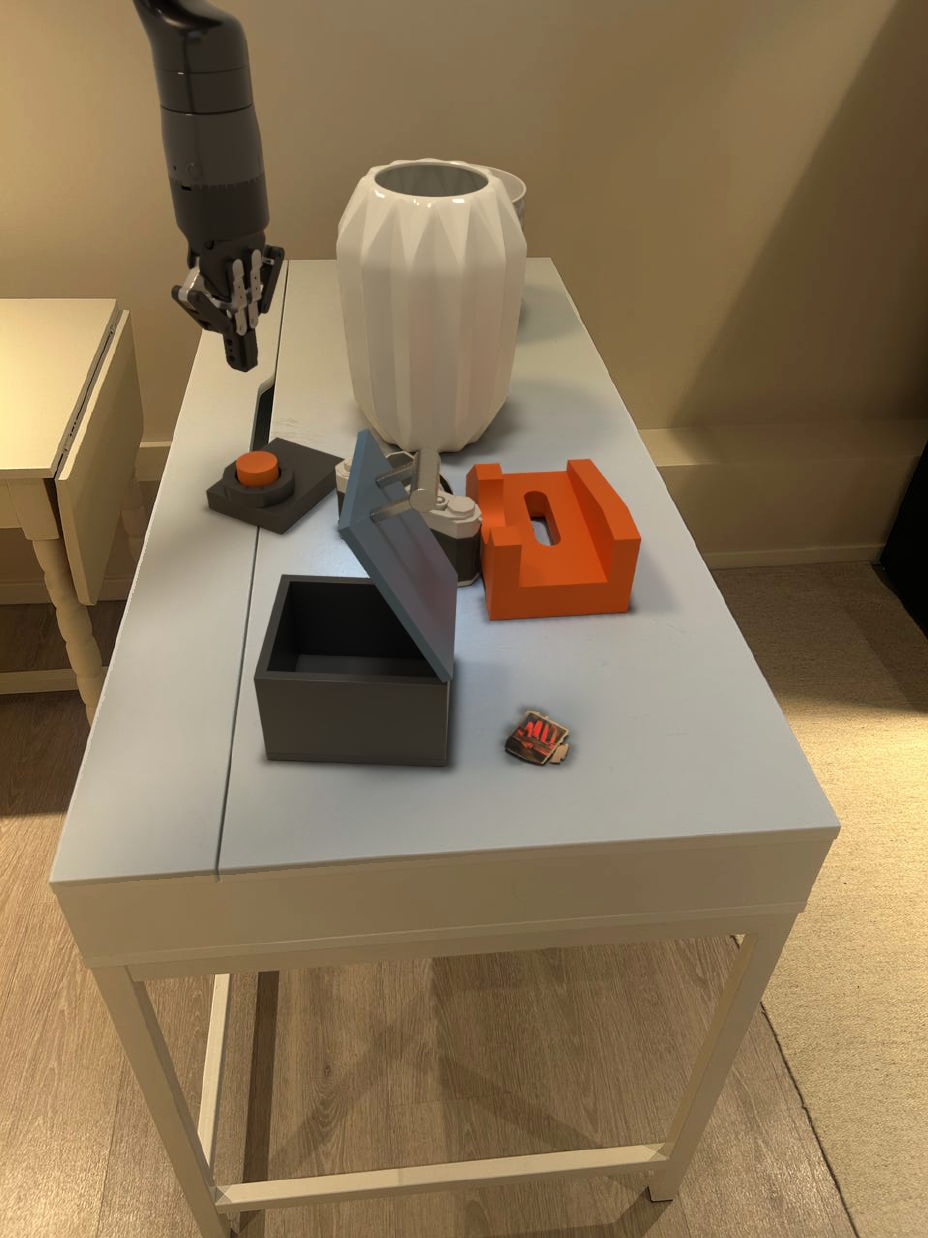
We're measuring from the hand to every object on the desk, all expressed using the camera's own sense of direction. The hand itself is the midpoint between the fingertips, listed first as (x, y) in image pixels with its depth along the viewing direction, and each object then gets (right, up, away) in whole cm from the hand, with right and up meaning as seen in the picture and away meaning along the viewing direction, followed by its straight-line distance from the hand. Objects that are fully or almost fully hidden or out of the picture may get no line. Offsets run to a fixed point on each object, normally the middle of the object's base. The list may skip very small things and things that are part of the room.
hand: (243, 367), depth 86 cm
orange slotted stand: (+28, -17, +6) cm, 33 cm away
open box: (+12, -30, -10) cm, 34 cm away
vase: (+16, -1, +23) cm, 28 cm away
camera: (+16, -16, +6) cm, 23 cm away
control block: (+1, -10, +12) cm, 16 cm away
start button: (0, -9, +8) cm, 12 cm away
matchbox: (+26, -33, -12) cm, 44 cm away
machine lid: (+16, -19, -20) cm, 32 cm away
